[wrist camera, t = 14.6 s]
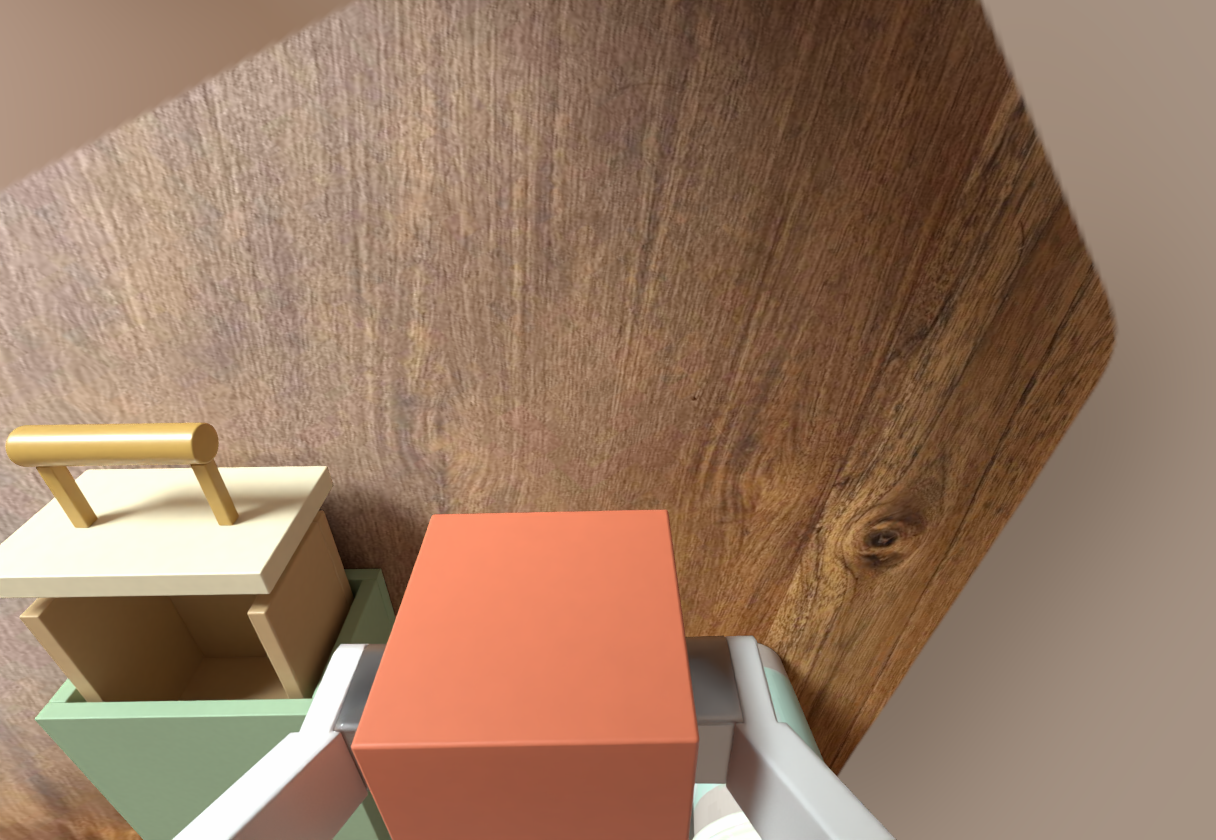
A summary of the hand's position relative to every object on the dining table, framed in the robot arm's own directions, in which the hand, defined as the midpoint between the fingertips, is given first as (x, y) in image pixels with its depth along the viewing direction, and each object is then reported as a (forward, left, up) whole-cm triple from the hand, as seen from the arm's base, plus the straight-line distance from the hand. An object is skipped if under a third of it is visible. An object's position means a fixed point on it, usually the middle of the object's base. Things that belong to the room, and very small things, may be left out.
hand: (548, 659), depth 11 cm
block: (0, 0, -2) cm, 2 cm away
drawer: (+1, -21, -16) cm, 27 cm away
